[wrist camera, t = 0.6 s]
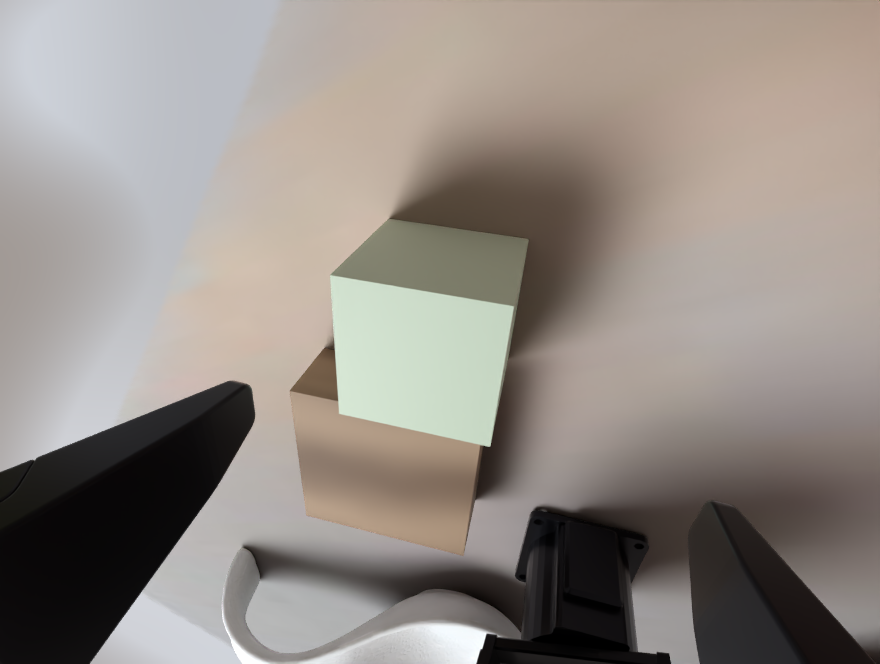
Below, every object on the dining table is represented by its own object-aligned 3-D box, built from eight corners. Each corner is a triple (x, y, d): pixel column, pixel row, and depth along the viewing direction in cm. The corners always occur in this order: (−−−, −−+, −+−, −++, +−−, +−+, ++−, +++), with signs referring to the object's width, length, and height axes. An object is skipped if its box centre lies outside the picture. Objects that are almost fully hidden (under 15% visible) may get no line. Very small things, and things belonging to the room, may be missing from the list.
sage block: (508, 357, 23) (490, 447, 18) (388, 335, 24) (339, 413, 19) (528, 238, 19) (514, 306, 14) (389, 217, 20) (330, 275, 15)
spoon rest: (550, 585, 31) (545, 713, 25) (532, 670, 37) (525, 790, 31) (231, 514, 36) (164, 609, 30) (262, 601, 42) (211, 693, 36)
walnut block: (475, 495, 29) (463, 555, 25) (335, 462, 30) (306, 515, 27) (494, 377, 24) (482, 432, 20) (326, 344, 25) (289, 391, 22)
